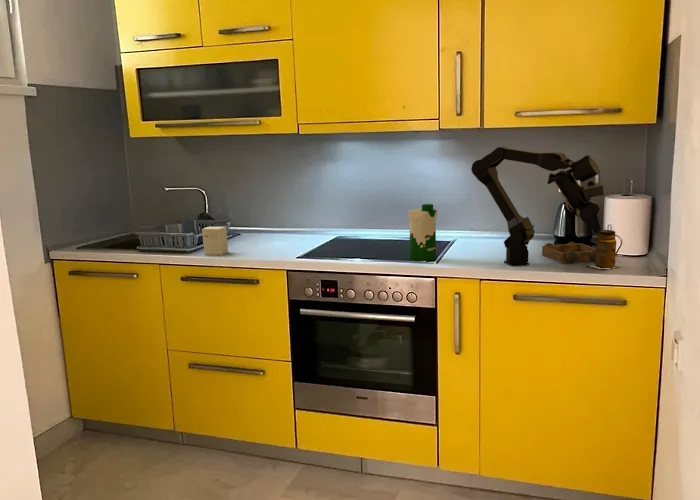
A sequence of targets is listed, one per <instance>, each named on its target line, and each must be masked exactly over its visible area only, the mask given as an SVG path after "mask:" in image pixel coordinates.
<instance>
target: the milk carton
mask: <svg viewBox="0 0 700 500" xmlns="http://www.w3.org/2000/svg"><path fill="white" fill-rule="evenodd" d="M407 216H408V221H409V261H411V260H418V261H417V262H419V261H429V260H432V261H434V260H433V259H435V258H436V259H437V238H436V234H437V231H436V229H437V228H436V227H437V216H438V209H434V204H432V203H423V204H421V208H416V209H411V210H407ZM436 259H435V260H436ZM429 262H430V261H429Z"/></svg>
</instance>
